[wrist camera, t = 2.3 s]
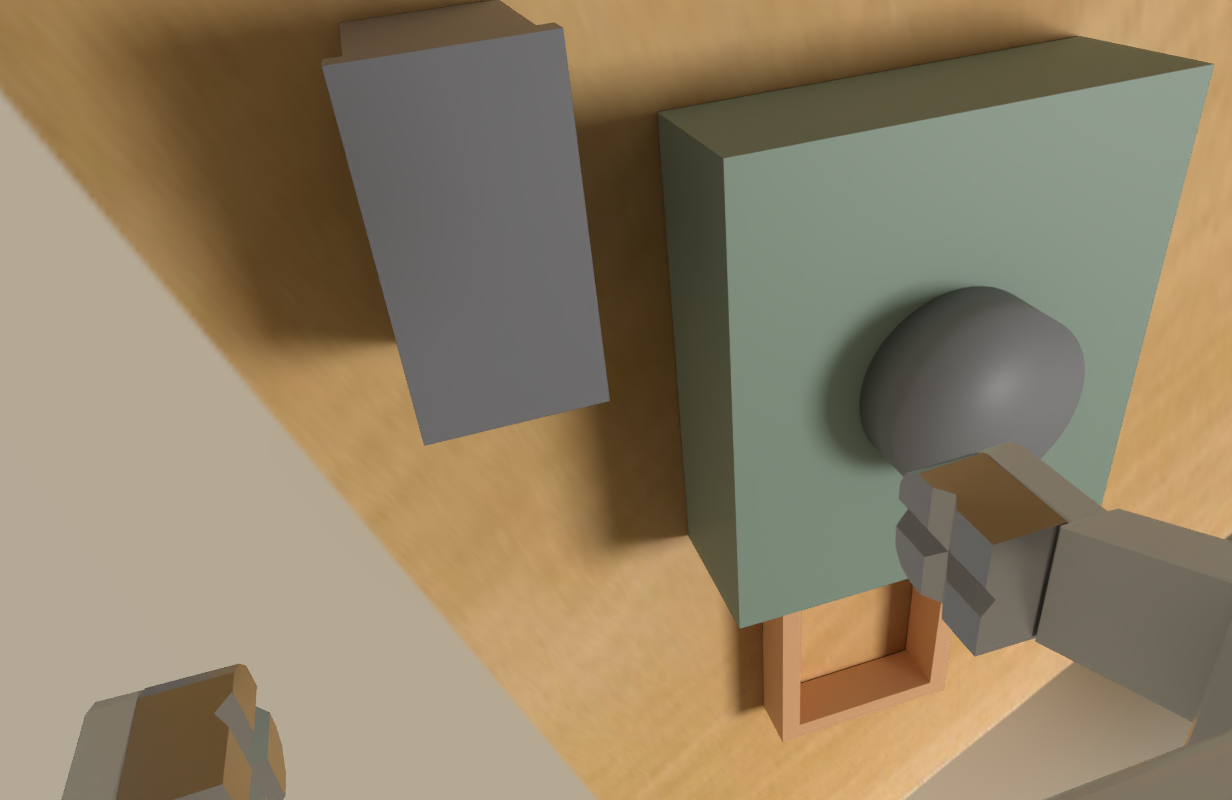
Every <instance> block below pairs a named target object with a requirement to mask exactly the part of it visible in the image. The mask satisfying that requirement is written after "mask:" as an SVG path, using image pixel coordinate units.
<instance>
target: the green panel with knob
mask: <svg viewBox="0 0 1232 800" xmlns="http://www.w3.org/2000/svg"><path fill="white" fill-rule="evenodd" d="M1213 67H1214V64H1212V63H1207V62H1202V61H1197V60H1193V59H1188V58H1183V57H1178V56H1173V55H1168V54H1164V53H1159V52H1154V51H1149V50H1144V49H1140V48H1135V47H1130V46H1125V45H1120V44H1116V43H1111V42H1106V41H1101V40H1096V39H1092V38H1087V37H1082V36H1078V37H1072V38H1067V39H1061V40H1056V41H1050V42H1044V43H1039V44H1033V45H1028V46H1022V47H1017V48H1011V49H1006V50H1000V51H994V52H989V53H983V54H978V55H972V56H967V57H961V58H955V59H950V60H944V61H939V62H933V63H928V64H922V65H916V66H911V67H905V68H900V69H894V70H889V71H883V72H877V73H872V74H866V75H861V76H855V77H850V78H844V79H838V80H833V81H827V82H822V83H816V84H811V85H805V86H800V87H794V88H788V89H783V90H777V91H772V92H766V93H761V94H755V95H749V96H744V97H738V98H733V99H727V100H722V101H716V102H710V103H705V104H699V105H694V106H688V107H683V108H677V109H671V110H666V111H660V112H657V115H658V128H659V142H660V155H661V169H662V182H663V196H664V209H665V223H666V236H667V250H668V264H669V277H670V291H671V304H672V318H673V331H674V345H675V358H676V372H677V385H678V399H679V412H680V426H681V439H682V453H683V466H684V480H685V493H686V507H687V520H688V534H689V538H690V539H691V541H692V543H693V545H694V547H695V549H696V550H697V552H698V554H699V556H700V558H701V559H702V561H703V563H704V565H705V567H706V568H707V570H708V572H709V574H710V576H711V578H712V579H713V581H714V583H715V585H716V587H717V588H718V590H719V592H720V594H721V596H722V597H723V599H724V601H725V603H726V605H727V607H728V608H729V610H730V612H731V614H732V616H733V617H734V619H735V621H736V623H737V625H738V626H739V628H740V629H741V628H744V627H748V626H751V625H754V624H758V623H761V622H763V677H764V708H765V709H766V711H767V713H768V715H769V717H770V719H771V721H772V723H773V725H774V726H775V728H776V730H777V732H778V734H779V736H780V738H781V740H782V742H784V741H787V740H791V739H794V738H797V737H800V736H803V735H806V734H809V733H812V732H815V731H818V730H821V729H824V728H827V727H830V726H833V725H836V724H840V723H843V722H846V721H849V720H852V719H855V718H858V717H861V716H864V715H867V714H870V713H873V712H876V711H879V710H882V709H885V708H888V707H892V706H895V705H898V704H901V703H904V702H907V701H910V700H913V699H916V698H919V697H922V696H925V695H928V694H931V693H934V692H937V691H941V690H944V686H945V679H946V673H947V666H948V660H949V653H950V647H951V640H952V634H953V631H952V630H951V629H950V628H949V627H948V626H947V624H946V623H945V622H944V621H943V620H942V603H940V602H938V601H935V600H933V599H930V598H928V597H926V596H923V595H921V594H920V593H919V592H918V591H917V590H916V588H915V587H914V586H913V590H912V599H911V608H910V616H909V625H908V634H907V643H906V650H905V651H902V652H899V653H896V654H892V655H889V656H886V657H883V658H880V659H877V660H873V661H870V662H867V663H864V664H861V665H858V666H854V667H851V668H848V669H845V670H842V671H838V672H835V673H832V674H829V675H826V676H823V677H819V678H816V679H813V680H810V681H807V682H803V683H800V682H801V631H802V610H805V609H808V608H811V607H815V606H818V605H822V604H825V603H828V602H832V601H835V600H838V599H842V598H845V597H848V596H852V595H855V594H858V593H862V592H865V591H868V590H872V589H875V588H879V587H882V586H885V585H889V584H892V583H895V582H899V581H902V580H905V579H908V578H907V576H906V574H905V572H904V571H903V569H902V567H901V565H900V561H899V557H898V554H897V550H896V547H895V541H896V525H897V524H898V522H899V521H900V520H901V518H902V517H903V515H904V514H905V512H906V511H907V510H908V508H907V507H906V506H905V505H904V504H903V503H902V502H901V501H900V500H899V489H900V482H901V481H902V479H903V477H904V475H905V473H907V472H911V471H914V470H918V469H921V468H924V467H928V466H931V465H935V464H938V463H941V462H945V461H948V460H951V459H955V458H958V457H962V456H965V455H968V454H974V453H975V452H977V451H980V450H984V449H987V448H990V447H994V446H997V445H1000V444H1003V443H1007V442H1013V443H1017V444H1020V445H1022V446H1023V447H1025V448H1026V449H1027V450H1029V451H1030V452H1031V453H1032V454H1034V455H1035V456H1036V457H1038V458H1039V459H1040V460H1042V461H1043V462H1044V463H1045V464H1047V465H1048V466H1049V467H1051V468H1052V469H1053V470H1054V471H1056V472H1057V473H1058V474H1060V475H1061V476H1062V477H1063V478H1065V479H1066V480H1067V481H1069V482H1070V483H1071V484H1073V485H1074V486H1075V487H1076V488H1078V489H1079V490H1080V491H1082V492H1083V493H1084V494H1085V495H1087V496H1088V497H1089V498H1091V499H1092V500H1093V501H1094V502H1096V503H1097V504H1098V505H1100V506H1101V504H1102V500H1103V496H1104V492H1105V489H1106V485H1107V481H1108V477H1109V473H1110V469H1111V465H1112V461H1113V457H1114V453H1115V449H1116V446H1117V442H1118V438H1119V434H1120V430H1121V426H1122V422H1123V418H1124V414H1125V410H1126V407H1127V403H1128V399H1129V395H1130V391H1131V387H1132V383H1133V379H1134V375H1135V371H1136V367H1137V364H1138V360H1139V356H1140V352H1141V348H1142V344H1143V340H1144V336H1145V332H1146V328H1147V325H1148V321H1149V317H1150V313H1151V309H1152V305H1153V301H1154V297H1155V293H1156V289H1157V285H1158V282H1159V278H1160V274H1161V270H1162V266H1163V262H1164V258H1165V254H1166V250H1167V246H1168V243H1169V239H1170V235H1171V231H1172V227H1173V223H1174V219H1175V215H1176V211H1177V207H1178V203H1179V200H1180V196H1181V192H1182V188H1183V184H1184V180H1185V176H1186V172H1187V168H1188V164H1189V161H1190V157H1191V153H1192V149H1193V145H1194V141H1195V137H1196V133H1197V129H1198V125H1199V122H1200V118H1201V114H1202V110H1203V106H1204V102H1205V98H1206V94H1207V90H1208V86H1209V82H1210V79H1211V75H1212V71H1213Z"/></svg>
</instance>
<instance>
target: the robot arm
mask: <svg viewBox="0 0 1232 800" xmlns="http://www.w3.org/2000/svg"><path fill="white" fill-rule="evenodd" d="M899 500H900V501H901V502H902V503H903V504H904V505H905V506H906V507H907V508H908V510H907V511H906V512H905V514H904V515H903V517H902V518H901V520H900V521H899V522H898V524H897V525H896V541H895V547H896V550H897V554H898V557H899V561H900V565H901V567H902V569H903V571H904V572H905V574H906V576H907V578H908V580H909V581H910V582H911V584H912V585H913V586H914V587H915V588H916V590H917V591H918V592H919V593H920V594H921V595H923V596H926V597H928V598H930V599H933V600H935V601H938V602H940V603H942V620H943V621H944V622H945V623H946V624H947V626H948V627H949V628H950V629H951V630H952V631H953V632H954V634H955V635H956V636H957V637H958V638H959V639H960V640H961V642H962V643H963V644H964V645H965V646H966V647H967V648H968V650H969V651H970V652H971V653H972V654H973V655H974V656H978V655H981V654H984V653H988V652H991V651H994V650H997V649H1001V648H1004V647H1007V646H1011V645H1014V644H1017V643H1020V642H1024V641H1027V640H1030V639H1034V638H1036V642H1038V643H1039V644H1041V645H1043V646H1045V647H1047V648H1049V649H1051V650H1053V651H1055V652H1057V653H1059V654H1061V655H1063V656H1065V657H1067V658H1069V659H1071V660H1073V661H1074V662H1076V663H1079V664H1080V665H1082V666H1084V667H1086V668H1088V669H1090V670H1092V671H1094V672H1096V673H1098V674H1100V675H1102V676H1104V677H1106V678H1108V679H1110V680H1111V681H1113V682H1115V683H1117V684H1119V685H1121V686H1123V687H1125V688H1127V689H1129V690H1131V691H1133V692H1135V693H1137V694H1139V695H1141V696H1143V697H1145V698H1146V699H1149V700H1151V701H1152V702H1154V703H1156V704H1158V705H1160V706H1162V707H1164V708H1166V709H1168V710H1170V711H1172V712H1174V713H1176V714H1178V715H1180V716H1182V717H1183V718H1186V719H1187V720H1189V721H1191V722H1192V724H1191V727H1190V730H1189V733H1188V735H1187V738H1186V740H1185V743H1184V746H1183V747H1181V748H1178V749H1176V750H1173V751H1170V752H1168V753H1165V754H1162V755H1160V756H1157V757H1155V758H1152V759H1149V760H1147V761H1144V762H1141V763H1139V764H1136V765H1134V766H1131V767H1128V768H1126V769H1123V770H1120V771H1118V772H1115V773H1113V774H1110V775H1107V776H1105V777H1102V778H1099V779H1097V780H1094V781H1091V782H1089V783H1086V784H1084V785H1081V786H1078V787H1076V788H1073V789H1070V790H1068V791H1065V792H1062V793H1060V794H1057V795H1055V796H1052V797H1049V798H1047V799H1044V800H1232V542H1231V541H1227V540H1225V539H1221V538H1218V537H1214V536H1211V535H1207V534H1204V533H1200V532H1197V531H1194V530H1190V529H1187V528H1183V527H1180V526H1176V525H1173V524H1170V523H1166V522H1163V521H1159V520H1156V519H1152V518H1149V517H1145V516H1142V515H1139V514H1135V513H1132V512H1128V511H1125V510H1121V509H1115V510H1111V511H1108V512H1107V511H1106V510H1105V509H1104V508H1102V507H1101V506H1100V505H1098V504H1097V503H1096V502H1094V501H1093V500H1092V499H1091V498H1089V497H1088V496H1087V495H1085V494H1084V493H1083V492H1082V491H1080V490H1079V489H1078V488H1076V487H1075V486H1074V485H1073V484H1071V483H1070V482H1069V481H1067V480H1066V479H1065V478H1063V477H1062V476H1061V475H1060V474H1058V473H1057V472H1056V471H1054V470H1053V469H1052V468H1051V467H1049V466H1048V465H1047V464H1045V463H1044V462H1043V461H1042V460H1040V459H1039V458H1038V457H1036V456H1035V455H1034V454H1032V453H1031V452H1030V451H1029V450H1027V449H1026V448H1025V447H1023V446H1022V445H1020V444H1017V443H1013V442H1007V443H1003V444H1000V445H997V446H994V447H990V448H987V449H984V450H980V451H977V452H975V453H974V454H968V455H965V456H962V457H958V458H955V459H951V460H948V461H945V462H941V463H938V464H935V465H931V466H928V467H924V468H921V469H918V470H914V471H911V472H907V473H905V475H904V477H903V479H902V481H901V482H900V489H899ZM256 690H257V686H256V683H255V682H254V680H253V678H252V676H251V674H250V672H249V670H248V668H247V667H246V666H245V665H242V664H236V665H232V666H229V667H225V668H221V669H217V670H213V671H210V672H205V673H202V674H198V675H195V676H190V677H186V678H183V679H179V680H175V681H171V682H168V683H164V684H160V685H156V686H152V687H148V688H145V689H144V690H142V691H138V692H134V693H130V694H126V695H122V696H118V697H114V698H110V699H106V700H103V701H99V702H95V703H94V705H93V706H92V707H91V708H90V710H89V711H88V712H87V714H86V715H85V718H84V722H83V725H82V728H81V732H80V736H79V739H78V743H77V747H76V750H75V754H74V757H73V761H72V764H71V768H70V771H69V775H68V778H67V782H66V786H65V789H64V793H63V796H62V800H283V799H284V797H285V789H286V783H285V782H286V771H285V764H284V757H283V749H282V744H281V741H280V738H279V734H278V731H277V728H276V725H275V723H274V721H273V719H272V717H271V715H270V713H269V712H267V711H265V710H263V709H261V708H258V707H256V705H255V704H256Z"/></svg>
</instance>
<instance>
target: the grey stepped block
mask: <svg viewBox="0 0 1232 800" xmlns="http://www.w3.org/2000/svg"><path fill="white" fill-rule="evenodd" d="M339 28H340V39H341V50H342V56H338V57H332V58H326V59H322V69H323V73H324V77H325V81H326V84H327V88H328V92H329V95H330V99H331V103H332V106H333V110H334V114H335V118H336V121H337V125H338V129H339V132H340V136H341V140H342V143H343V147H344V151H345V155H346V158H347V162H348V166H349V169H350V173H351V177H352V180H353V184H354V188H355V192H356V195H357V199H358V203H359V206H360V210H361V214H362V217H363V221H364V225H365V228H366V232H367V236H368V240H369V243H370V247H371V251H372V254H373V258H374V262H375V265H376V269H377V273H378V277H379V280H380V284H381V288H382V291H383V295H384V299H385V302H386V306H387V310H388V314H389V317H390V321H391V325H392V328H393V332H394V336H395V339H396V343H397V347H398V351H399V354H400V358H401V362H402V365H403V369H404V373H405V376H406V380H407V384H408V388H409V391H410V395H411V399H412V402H413V406H414V410H415V413H416V417H417V421H418V425H419V428H420V432H421V436H422V439H423V443H424V446H425V445H429V444H434V443H438V442H442V441H446V440H450V439H454V438H458V437H463V436H467V435H471V434H475V433H479V432H483V431H487V430H492V429H496V428H500V427H504V426H508V425H512V424H517V423H521V422H525V421H529V420H533V419H537V418H541V417H546V416H550V415H554V414H558V413H562V412H566V411H570V410H575V409H579V408H583V407H587V406H591V405H595V404H599V403H604V402H608V401H610V398H609V390H608V382H607V374H606V366H605V358H604V350H603V342H602V334H601V326H600V318H599V310H598V302H597V294H596V286H595V278H594V270H593V262H592V254H591V246H590V238H589V230H588V222H587V214H586V206H585V198H584V190H583V182H582V174H581V166H580V159H579V151H578V143H577V135H576V127H575V119H574V111H573V103H572V95H571V87H570V79H569V71H568V63H567V55H566V47H565V39H564V31H563V27H561V26H559V25H558V24H556V23H548V24H542V25H535V24H533V23H532V22H530V21H529V20H527V19H526V18H525V17H523V16H522V15H520V14H519V13H517V12H516V11H514V10H513V9H512V8H510V7H509V6H507V5H506V4H504V3H503V2H501V1H500V0H488V1H481V2H475V3H468V4H461V5H455V6H448V7H441V8H435V9H428V10H421V11H415V12H408V13H401V14H395V15H388V16H381V17H375V18H368V19H361V20H355V21H348V22H342V23H339Z"/></svg>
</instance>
